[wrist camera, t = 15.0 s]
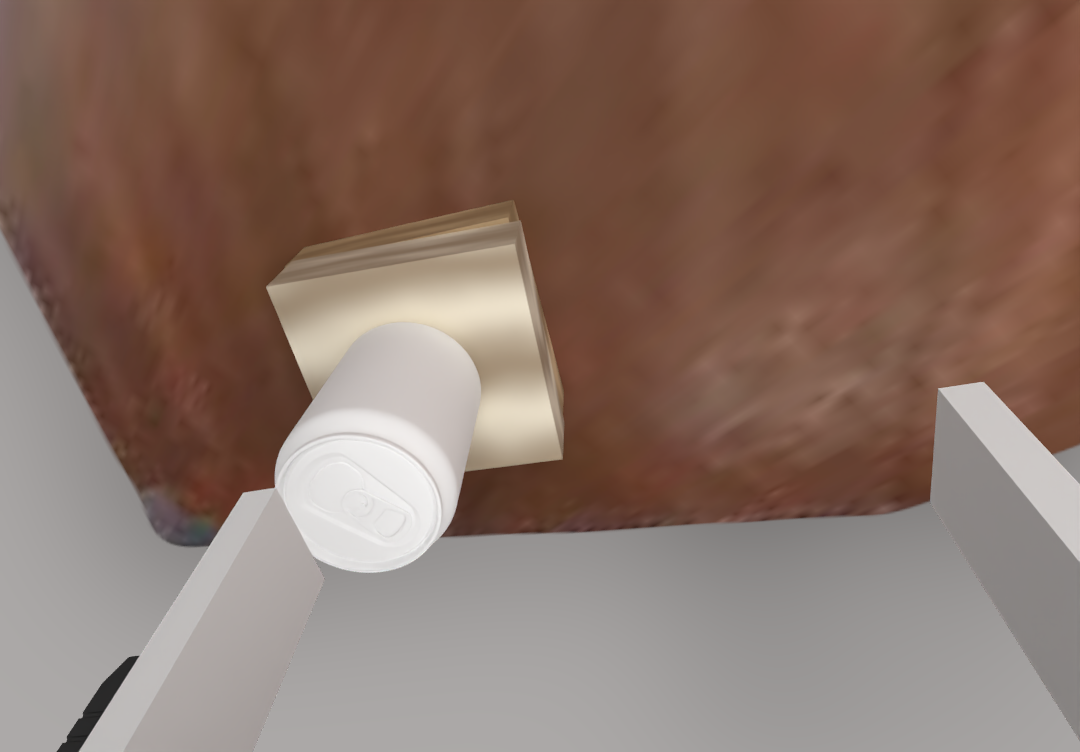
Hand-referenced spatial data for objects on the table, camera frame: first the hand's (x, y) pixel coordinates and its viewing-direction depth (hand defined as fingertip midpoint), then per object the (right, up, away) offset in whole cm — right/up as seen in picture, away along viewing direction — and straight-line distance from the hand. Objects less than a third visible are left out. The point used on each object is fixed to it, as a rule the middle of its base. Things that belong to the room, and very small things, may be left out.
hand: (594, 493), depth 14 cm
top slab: (-8, +4, +30) cm, 31 cm away
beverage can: (-8, +2, +26) cm, 28 cm away
